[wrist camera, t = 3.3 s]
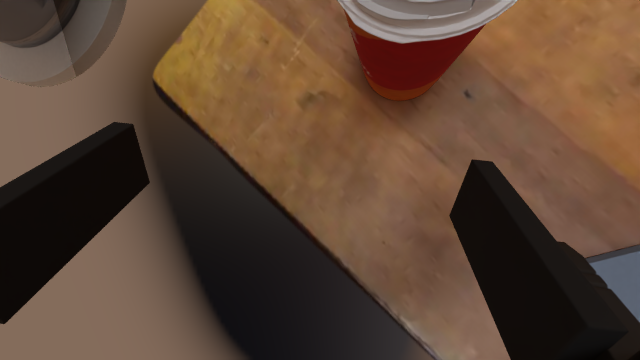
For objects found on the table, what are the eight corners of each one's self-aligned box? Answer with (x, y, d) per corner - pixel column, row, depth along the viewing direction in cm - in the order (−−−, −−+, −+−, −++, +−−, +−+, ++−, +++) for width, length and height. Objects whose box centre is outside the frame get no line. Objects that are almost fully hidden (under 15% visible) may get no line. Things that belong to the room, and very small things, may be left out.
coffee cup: (384, -5, 24) (394, -283, 10) (477, 40, 23) (655, -200, 8) (331, 87, 25) (265, -39, 10) (418, 135, 24) (483, 70, 9)
